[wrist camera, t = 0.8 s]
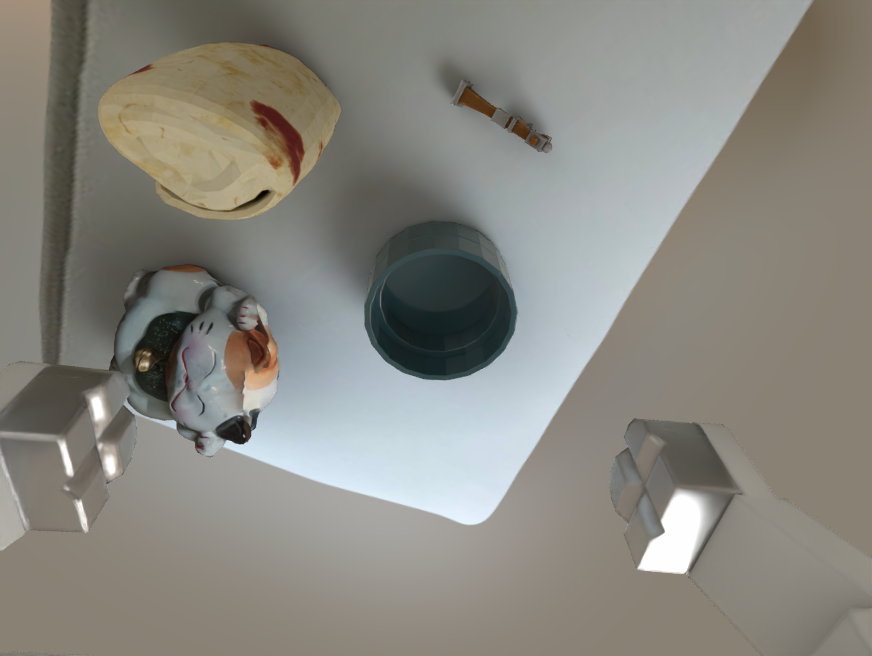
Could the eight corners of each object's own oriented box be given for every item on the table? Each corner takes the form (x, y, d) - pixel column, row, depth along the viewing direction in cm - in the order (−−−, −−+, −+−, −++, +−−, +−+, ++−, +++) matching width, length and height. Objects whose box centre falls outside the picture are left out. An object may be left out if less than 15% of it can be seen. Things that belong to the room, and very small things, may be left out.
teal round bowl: (397, 198, 47) (394, 226, 42) (530, 248, 50) (543, 280, 45) (352, 318, 53) (345, 355, 48) (474, 357, 56) (479, 396, 50)
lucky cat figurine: (143, 232, 48) (168, 292, 37) (277, 273, 55) (329, 333, 45) (88, 388, 51) (97, 484, 40) (222, 406, 58) (259, 492, 48)
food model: (359, 74, 42) (316, 142, 25) (327, 156, 45) (269, 267, 28) (227, 7, 40) (81, 32, 23) (203, 99, 43) (58, 182, 26)
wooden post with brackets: (552, 158, 45) (542, 162, 41) (467, 105, 46) (449, 103, 42) (565, 137, 44) (556, 138, 40) (478, 83, 45) (461, 79, 41)
